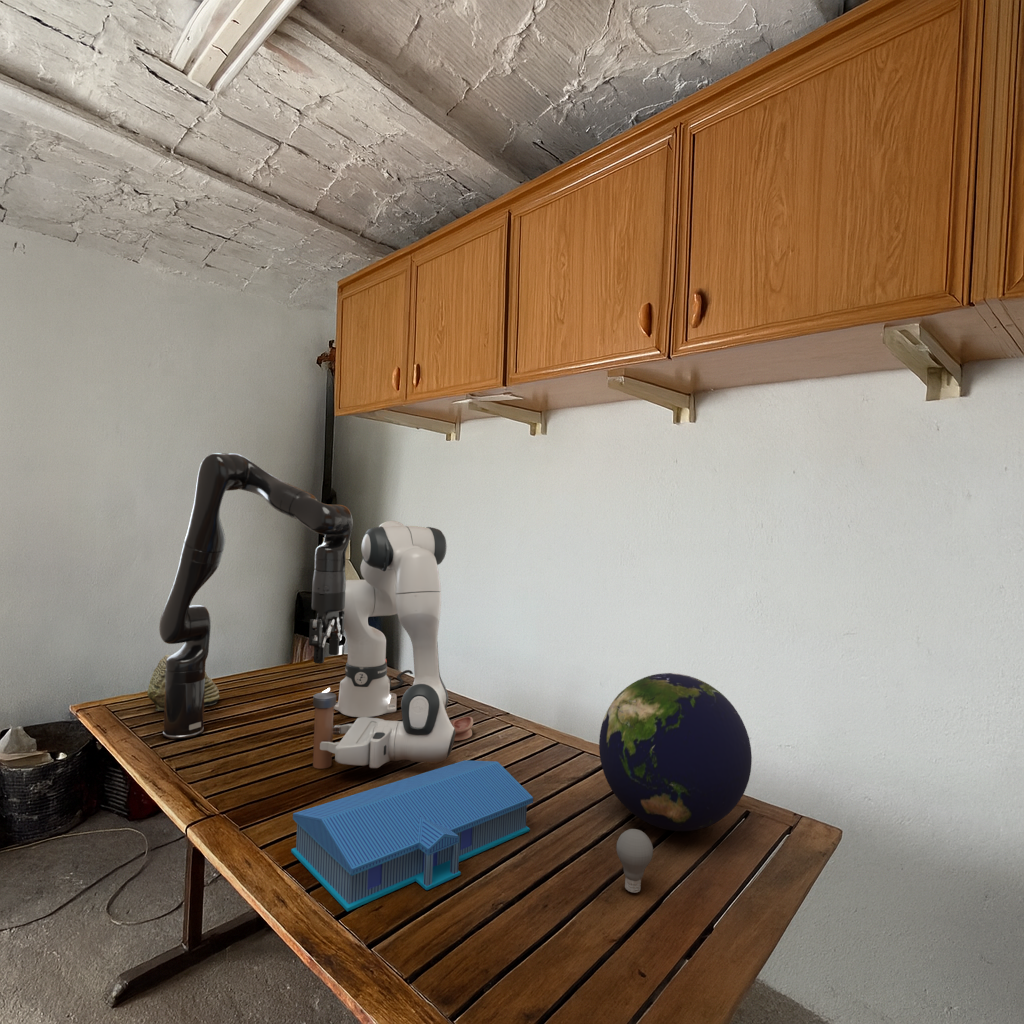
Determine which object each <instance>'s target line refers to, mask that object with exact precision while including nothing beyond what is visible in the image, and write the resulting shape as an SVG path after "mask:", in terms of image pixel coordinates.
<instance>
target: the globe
mask: <svg viewBox="0 0 1024 1024" xmlns="http://www.w3.org/2000/svg"><path fill="white" fill-rule="evenodd" d="M599 731H600V732H599V738H598V739H599V740H598V751H599V759H600V764H601V768H602V771H603V775H604V777H605V780H606V782H607V784H608V786H609V788H610V789H611V791H612V793H613V794H614V795H615V797H616V798H617V800H618V801H619V802H620V803H621V804H622V805H623V806H624V807H625V808H626V809H627V810H628V811H629V812H630V813H631V814H633V815H634V816H635V817H636V818H637V819H640V820H641V821H643V822H645V823H646V824H648V825H651V826H654V827H656V828H659V829H663V830H667V831H673V832H693V831H698V830H701V829H705V828H707V827H710V826H712V825H714V824H716V823H718V822H720V821H721V820H723V819H724V818H725V817H726V816H728V814H730V813H731V811H733V809H734V808H735V807H736V806H737V805H738V804H739V802H740V801H741V799H742V798H743V796H744V794H745V792H746V789H747V787H748V785H749V781H750V778H751V772H752V763H753V762H752V761H753V760H752V759H753V757H752V746H751V741H750V736H749V733H748V730H747V729H746V725H745V723H744V721H743V719H742V717H741V716H740V714H739V712H738V710H737V709H736V708H735V706H734V705H733V704H732V703H731V701H730V700H729V699H728V698H727V697H726V696H725V695H724V694H723V693H722V692H721V691H720V690H718V689H716V688H715V687H714V686H712V685H710V684H709V683H707V682H706V681H703V680H701V679H700V678H696V677H694V676H691V675H687V674H682V673H679V672H678V673H677V672H665V673H655V674H651V675H647V676H645V677H642V678H640V679H638V680H635V681H634V682H632V683H631V684H629V685H628V686H626V687H625V688H624V689H623V690H621V691H620V692H619V693H618V694H617V695H616V697H615V698H614V699H613V701H612V702H611V703H610V705H609V707H608V708H607V710H606V712H605V715H604V716H603V719H602V723H601V727H600V730H599Z"/></svg>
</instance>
